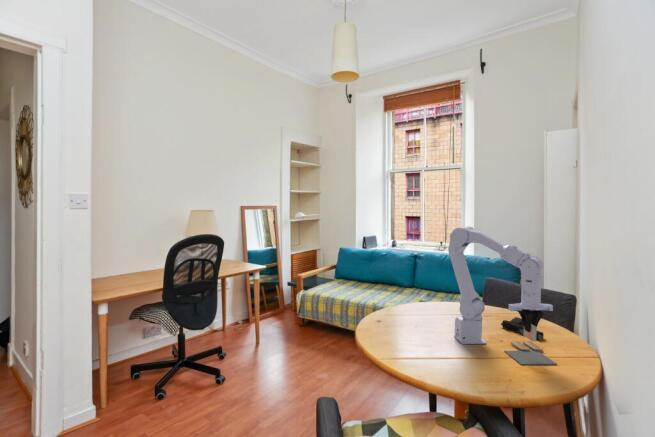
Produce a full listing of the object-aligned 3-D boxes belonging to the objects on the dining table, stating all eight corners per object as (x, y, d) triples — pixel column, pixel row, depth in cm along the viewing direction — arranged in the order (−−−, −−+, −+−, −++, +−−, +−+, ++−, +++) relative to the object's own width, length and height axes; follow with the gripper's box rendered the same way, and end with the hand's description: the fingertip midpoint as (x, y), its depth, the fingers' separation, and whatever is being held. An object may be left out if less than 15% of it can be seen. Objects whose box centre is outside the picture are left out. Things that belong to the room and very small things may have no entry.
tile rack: (521, 352, 119) (522, 349, 119) (510, 344, 126) (510, 341, 126) (543, 352, 120) (543, 349, 120) (530, 343, 127) (530, 341, 127)
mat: (521, 365, 110) (521, 363, 110) (504, 351, 120) (504, 350, 120) (556, 364, 110) (556, 363, 110) (537, 351, 120) (537, 350, 120)
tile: (532, 341, 113) (533, 326, 113) (523, 335, 118) (524, 321, 118) (536, 341, 113) (536, 326, 113) (526, 335, 118) (527, 321, 118)
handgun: (554, 337, 136) (537, 341, 130) (513, 323, 151) (496, 327, 145) (555, 328, 136) (538, 333, 130) (514, 315, 151) (497, 319, 145)
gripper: (517, 295, 111) (516, 335, 111) (559, 295, 112) (558, 335, 112) (505, 290, 118) (504, 328, 119) (545, 289, 119) (544, 327, 119)
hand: (529, 331), depth 116 cm, fingers closed on tile, 1 cm apart
